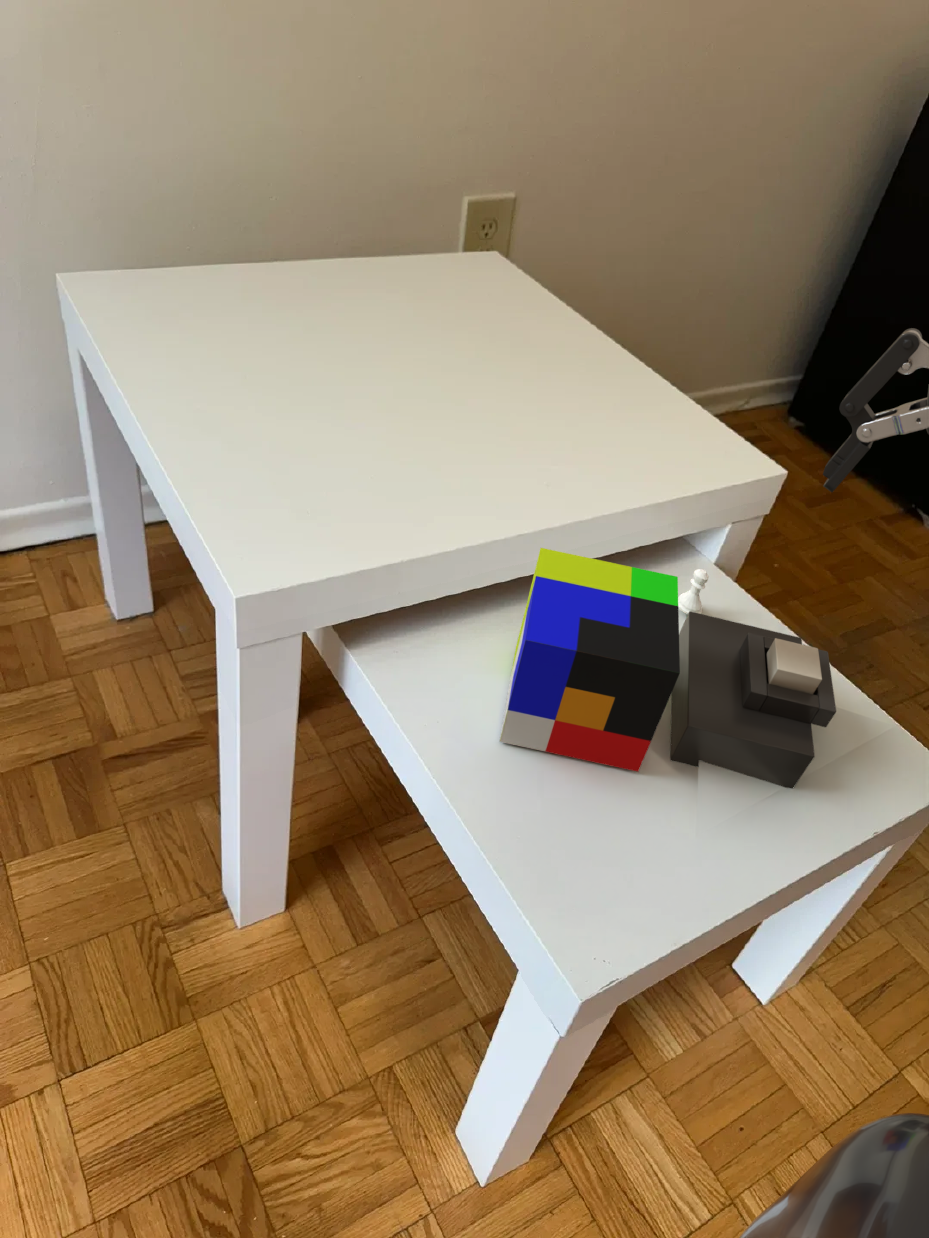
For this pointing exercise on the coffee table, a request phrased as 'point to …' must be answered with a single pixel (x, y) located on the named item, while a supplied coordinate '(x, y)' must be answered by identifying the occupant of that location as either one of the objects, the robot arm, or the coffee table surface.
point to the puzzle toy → (593, 660)
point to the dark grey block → (742, 703)
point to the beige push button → (793, 666)
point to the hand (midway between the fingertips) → (883, 525)
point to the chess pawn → (693, 593)
